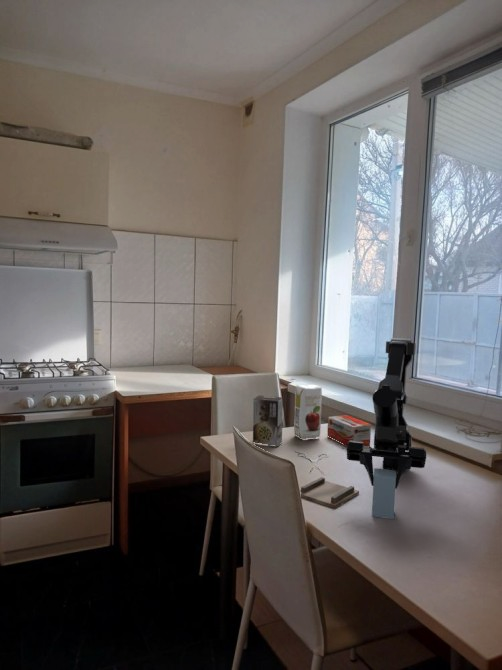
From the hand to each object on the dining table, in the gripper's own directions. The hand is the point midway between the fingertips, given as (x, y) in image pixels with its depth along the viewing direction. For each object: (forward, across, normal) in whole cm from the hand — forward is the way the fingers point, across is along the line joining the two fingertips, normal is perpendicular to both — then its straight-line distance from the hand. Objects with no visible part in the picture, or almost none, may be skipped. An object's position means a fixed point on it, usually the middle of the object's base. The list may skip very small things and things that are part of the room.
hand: (384, 486), depth 119 cm
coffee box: (-28, -39, +38) cm, 61 cm away
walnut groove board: (-1, -14, +11) cm, 18 cm away
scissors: (-17, -21, +28) cm, 39 cm away
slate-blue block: (+4, 0, +6) cm, 7 cm away
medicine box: (-36, -12, +47) cm, 60 cm away
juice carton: (-36, -27, +46) cm, 65 cm away
